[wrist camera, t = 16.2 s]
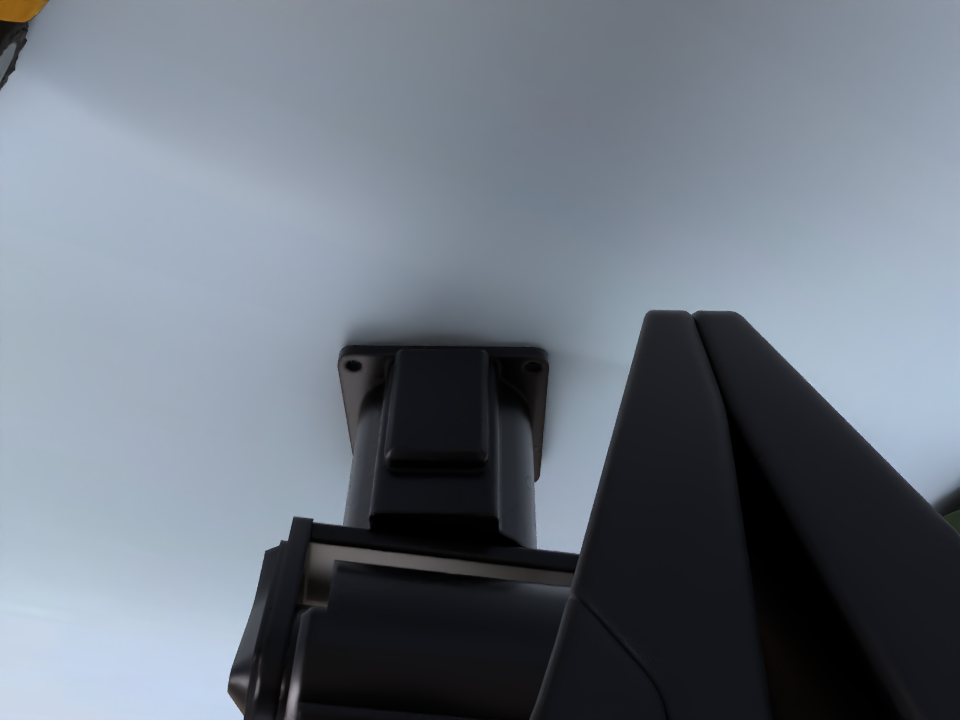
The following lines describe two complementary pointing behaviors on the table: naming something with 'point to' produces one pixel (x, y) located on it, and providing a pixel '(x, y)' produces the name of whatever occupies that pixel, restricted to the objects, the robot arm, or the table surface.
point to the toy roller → (14, 31)
